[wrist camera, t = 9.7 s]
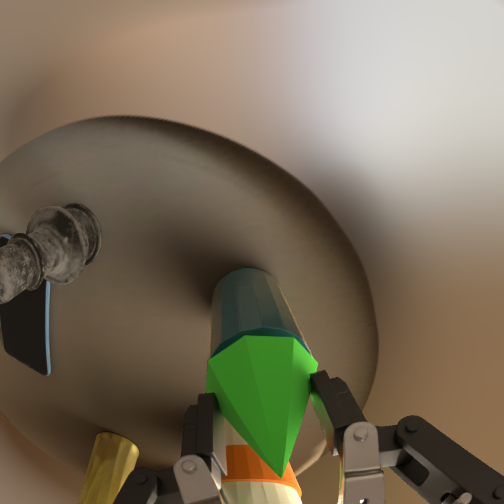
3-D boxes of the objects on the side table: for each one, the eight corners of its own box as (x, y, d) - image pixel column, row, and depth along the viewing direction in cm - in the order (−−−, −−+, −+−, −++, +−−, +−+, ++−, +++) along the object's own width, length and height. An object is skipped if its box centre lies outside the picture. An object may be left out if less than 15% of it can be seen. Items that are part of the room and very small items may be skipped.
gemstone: (308, 315, 12) (361, 409, 7) (324, 398, 14) (360, 480, 8) (183, 350, 12) (166, 455, 7) (224, 426, 14) (229, 512, 8)
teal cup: (205, 274, 22) (195, 338, 13) (276, 261, 22) (308, 316, 13) (221, 335, 23) (221, 412, 15) (285, 322, 24) (314, 394, 15)
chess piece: (50, 264, 20) (-38, 327, 9) (49, 197, 19) (-57, 226, 7) (105, 274, 21) (25, 357, 9) (107, 202, 19) (3, 238, 8)
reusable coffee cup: (308, 428, 28) (343, 532, 14) (237, 469, 30) (247, 560, 15) (228, 385, 25) (238, 527, 11) (159, 435, 27) (144, 542, 12)
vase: (99, 425, 26) (70, 515, 12) (144, 444, 27) (128, 537, 13) (93, 444, 27) (69, 523, 13) (133, 461, 28) (119, 542, 14)
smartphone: (49, 257, 19) (49, 380, 22) (54, 254, 20) (52, 375, 23) (-4, 231, 18) (2, 352, 21) (1, 229, 19) (6, 348, 22)
